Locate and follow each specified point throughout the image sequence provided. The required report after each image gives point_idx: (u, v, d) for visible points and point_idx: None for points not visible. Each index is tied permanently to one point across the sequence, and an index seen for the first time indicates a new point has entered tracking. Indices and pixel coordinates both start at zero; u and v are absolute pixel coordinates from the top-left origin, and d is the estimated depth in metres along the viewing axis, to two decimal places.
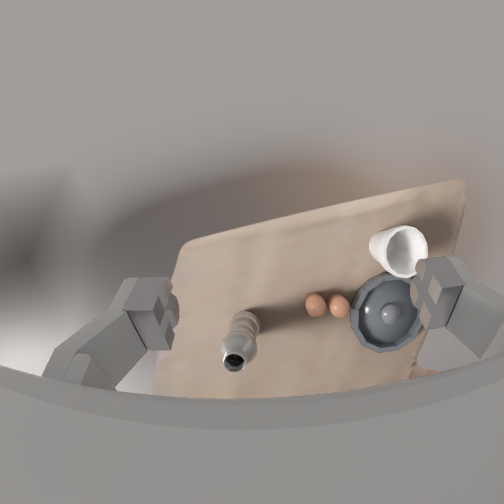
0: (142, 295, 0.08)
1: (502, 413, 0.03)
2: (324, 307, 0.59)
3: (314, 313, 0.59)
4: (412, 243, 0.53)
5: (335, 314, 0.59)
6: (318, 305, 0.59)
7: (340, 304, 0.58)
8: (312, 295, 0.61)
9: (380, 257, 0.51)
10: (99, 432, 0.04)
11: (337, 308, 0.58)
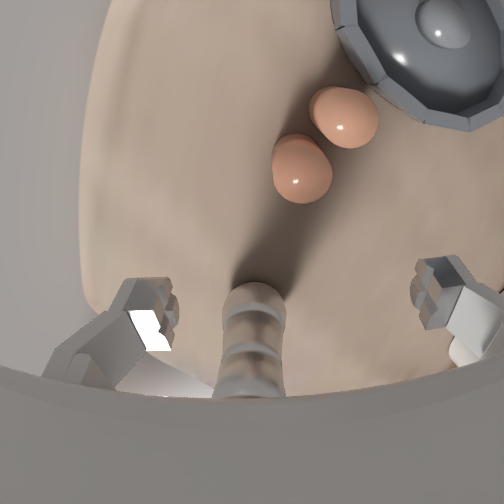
0: (142, 295, 0.08)
1: (502, 413, 0.03)
2: (316, 156, 0.18)
3: (313, 189, 0.20)
4: None
5: (356, 141, 0.18)
6: (300, 168, 0.19)
7: (338, 111, 0.17)
8: (273, 158, 0.21)
9: None
10: (99, 432, 0.04)
11: (344, 126, 0.17)
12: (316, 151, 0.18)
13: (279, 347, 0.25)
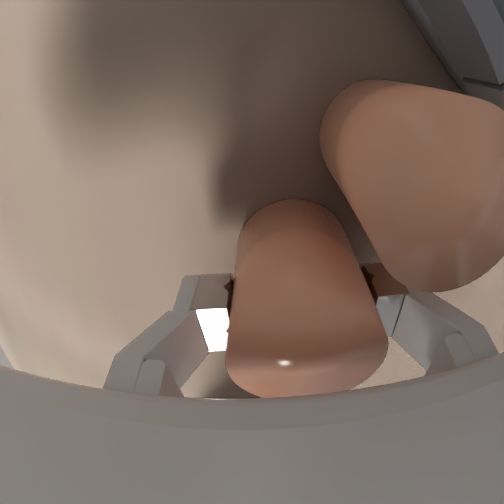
0: (209, 293, 0.08)
1: (502, 413, 0.03)
2: (352, 325, 0.06)
3: (333, 382, 0.07)
4: None
5: (465, 271, 0.05)
6: (302, 352, 0.07)
7: (440, 184, 0.04)
8: (233, 286, 0.09)
9: None
10: (100, 433, 0.04)
11: (446, 232, 0.05)
12: (352, 312, 0.06)
13: None
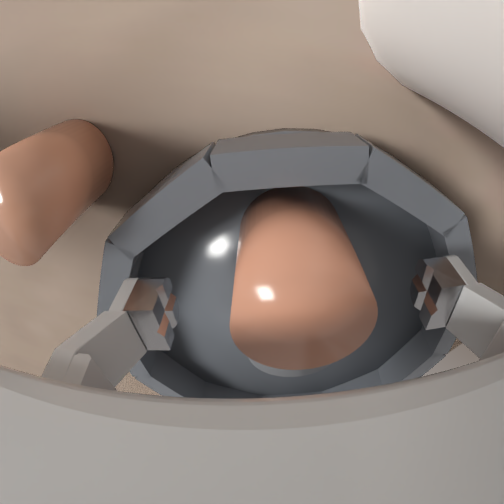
0: (142, 295, 0.08)
1: (502, 413, 0.03)
2: (343, 288, 0.07)
3: (329, 348, 0.08)
4: None
5: None
6: (299, 315, 0.07)
7: (3, 194, 0.07)
8: (236, 261, 0.10)
9: None
10: (100, 433, 0.04)
11: None
12: (343, 275, 0.07)
13: None
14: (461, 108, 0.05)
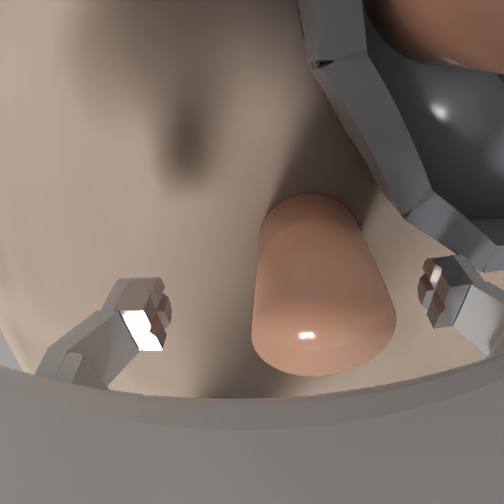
0: (134, 295, 0.08)
1: (502, 413, 0.03)
2: None
3: None
4: None
5: (329, 368, 0.09)
6: None
7: (301, 324, 0.07)
8: (452, 60, 0.05)
9: None
10: (100, 433, 0.04)
11: (308, 348, 0.08)
12: None
13: None
14: None
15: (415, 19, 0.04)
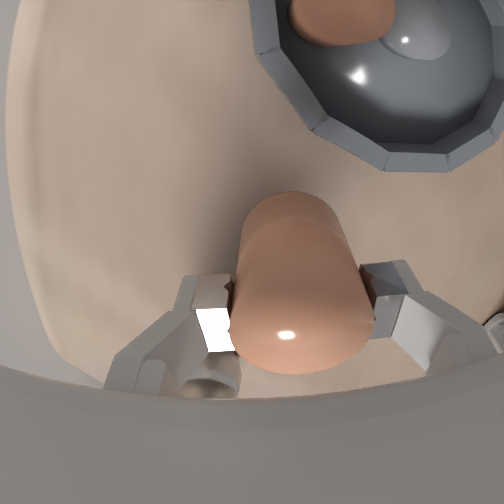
0: (209, 293, 0.08)
1: (502, 413, 0.03)
2: None
3: None
4: None
5: (310, 366, 0.09)
6: (337, 1, 0.08)
7: (276, 324, 0.08)
8: (326, 43, 0.11)
9: None
10: (99, 433, 0.04)
11: (286, 346, 0.08)
12: None
13: None
14: None
15: (301, 26, 0.11)
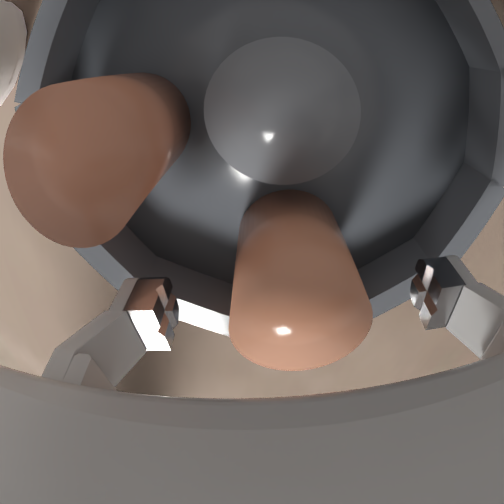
0: (142, 295, 0.08)
1: (502, 413, 0.03)
2: (13, 149, 0.05)
3: (87, 130, 0.05)
4: None
5: (310, 362, 0.09)
6: (45, 183, 0.06)
7: (276, 320, 0.08)
8: None
9: None
10: (100, 432, 0.04)
11: (286, 343, 0.08)
12: (5, 154, 0.05)
13: None
14: None
15: None
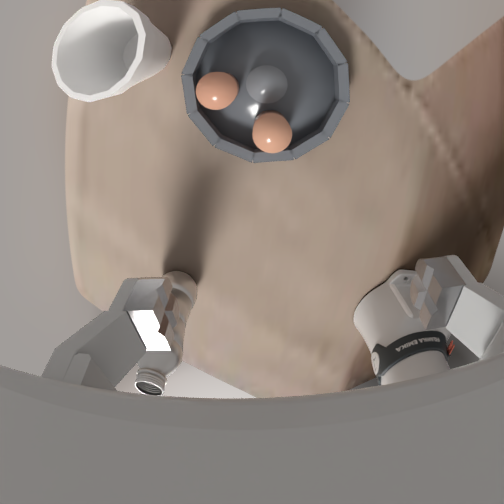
0: (142, 295, 0.08)
1: (502, 413, 0.03)
2: (201, 84, 0.26)
3: (225, 82, 0.26)
4: (121, 16, 0.19)
5: (276, 148, 0.29)
6: (210, 92, 0.26)
7: (265, 130, 0.28)
8: None
9: None
10: (99, 432, 0.04)
11: (268, 139, 0.29)
12: (197, 84, 0.26)
13: (183, 310, 0.40)
14: (159, 63, 0.25)
15: None
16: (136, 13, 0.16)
